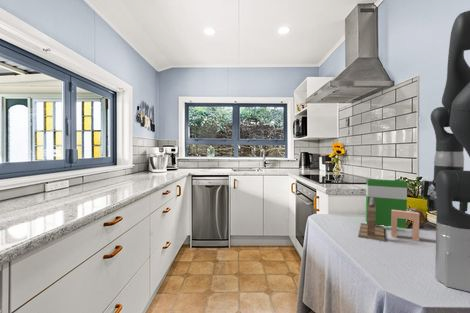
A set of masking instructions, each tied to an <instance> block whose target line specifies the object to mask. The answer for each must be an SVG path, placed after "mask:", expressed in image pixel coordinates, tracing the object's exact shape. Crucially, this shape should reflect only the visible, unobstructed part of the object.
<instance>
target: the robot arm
mask: <svg viewBox="0 0 470 313" xmlns="http://www.w3.org/2000/svg"><path fill="white" fill-rule="evenodd" d="M448 45H449V47H448V55H447V56H448V58H447V65H446V66H447V70H446V71H447V72H446V81H445V86H444V89H443V94H442V98H441V104H442V106H440V107H436V108H434V109H433V110H432V111H431V113H430V121H431V125H432V127H433V130H434V134H435V135H434V136H435V155H434V159H433V160H434V161H433V179H432V180H431V181H430V180H426V179H422V182H421V189H420V196H422V197H423V198H426V207H427V208H428V210H430V211H434V210H435V209H434V208H435V201H436V220H435V221H436V224H435V226H436V227H435V255H434V257H435V261H434V262H435V266H434V269H435V270H434V277H435V279H436V280H437V282H438V281H439V283H442V284H443V285H444V287H447V288H452V289H456V290H460V291H464V292H469V293H470V214H469V213H467V211H468V206H469V203H470V170H465V166H464V164H465V155H464V154H465V153H464V152H466V153H467V155H468V157H469V158H470V66H469V64H468V63H467V60H466V59H465V51H470V10H467V11H463V12H461V13H459V14H458V15H457V17H456V18H455V19H454V22H453V23H452V26H451V32H450V39H449V44H448ZM445 128H450V131H451V132H448V131H447V130H446V129H445ZM464 150H465V151H464ZM431 186H433V187H434V188H433V189H432V190H430V192H429V188H430V187H431ZM435 198H436V199H435ZM453 202H458V203H459V204H458V205H459V208H456V207H455V206H454V203H453Z"/></svg>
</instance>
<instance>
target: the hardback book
mask: <svg viewBox="0 0 470 313" xmlns="http://www.w3.org/2000/svg"><path fill="white" fill-rule="evenodd" d="M365 183H366V186H365V189H366V190H365V191H366V192H365V193H366V194H365V222H367V223H366V224H368V204H369V198H370V197H374V198H375V199H376V216H375V225H378V226H380V225H384V226H383V227H388V226H391V218H392V210H400V211H407V208H408V205H407V204H408V203H407V202H408V181H404V180H396V179H395V180H394V179H393V180H392V179H379V178H377V179H376V178H373V179H372V178H366V182H365ZM397 227H398V228H399V229H404V230H405V229H407V219H401V218H397ZM398 228H397V229H398Z"/></svg>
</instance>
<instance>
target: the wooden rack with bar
mask: <svg viewBox="0 0 470 313" xmlns="http://www.w3.org/2000/svg"><path fill="white" fill-rule="evenodd" d="M375 216H376V199H375V198H374V197H370V198H369V204H368V224H367V223H364V222H360V225H359V230H358V236H357V237H358V238H361V239H369V240H374V241H379V242H385V231H384V226H380V225H375Z"/></svg>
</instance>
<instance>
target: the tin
mask: <svg viewBox="0 0 470 313" xmlns="http://www.w3.org/2000/svg"><path fill="white" fill-rule="evenodd" d="M407 209H409V212H418V213H419V214H420V215H419V227H424V226H425V225H426V216H425V214H424V213H423V211H421V210H420V209H418V208H414V207H407ZM411 225H413V222H412V223H411Z"/></svg>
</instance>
